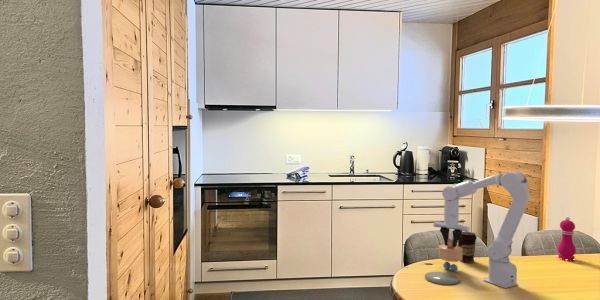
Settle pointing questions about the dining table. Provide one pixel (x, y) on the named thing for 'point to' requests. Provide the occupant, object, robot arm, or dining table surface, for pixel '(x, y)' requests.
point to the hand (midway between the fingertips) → (450, 245)
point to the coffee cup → (467, 245)
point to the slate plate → (442, 278)
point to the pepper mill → (567, 240)
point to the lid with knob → (450, 252)
